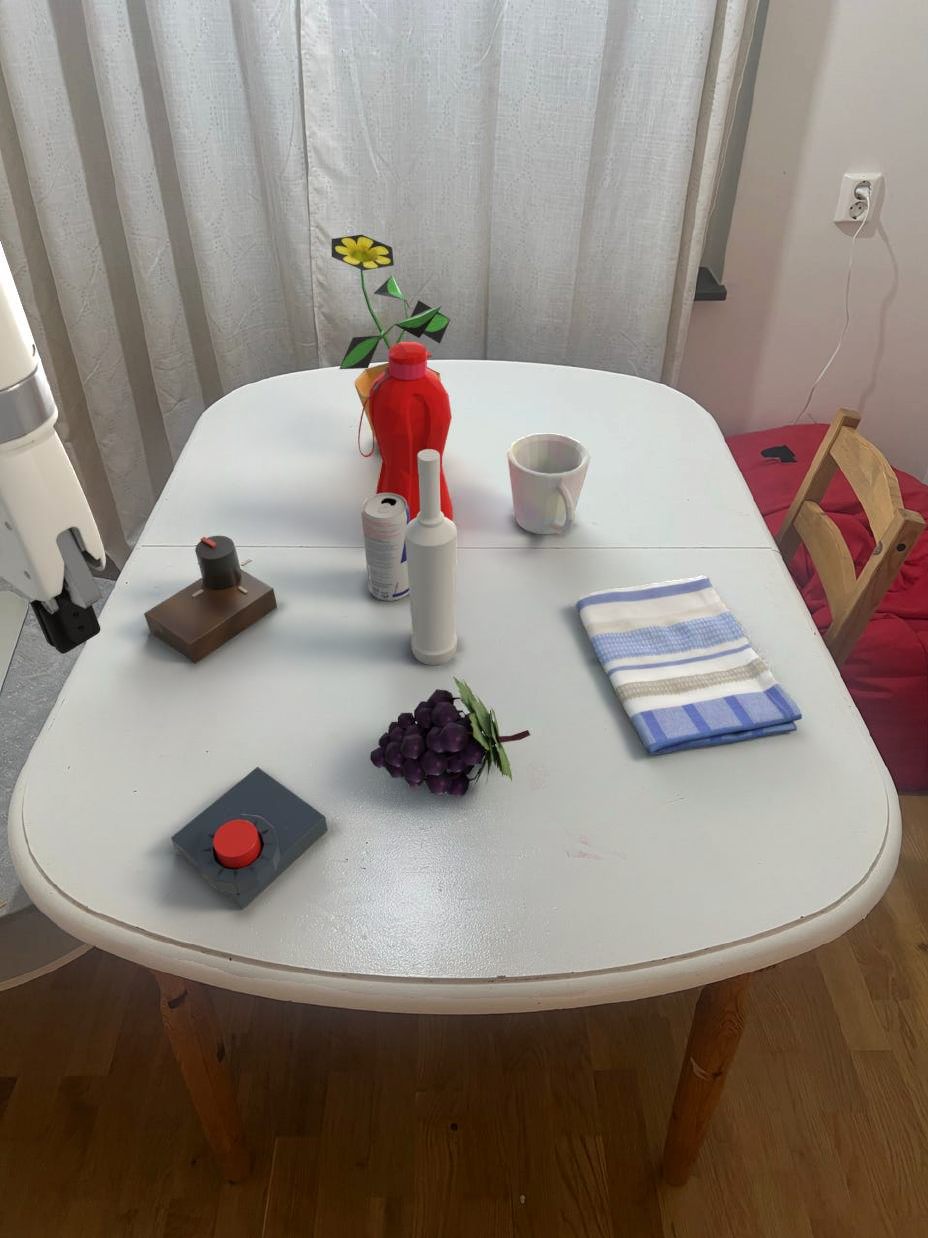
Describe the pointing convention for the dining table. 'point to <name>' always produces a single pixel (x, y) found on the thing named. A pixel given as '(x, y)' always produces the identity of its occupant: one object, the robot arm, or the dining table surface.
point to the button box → (279, 826)
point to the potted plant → (362, 349)
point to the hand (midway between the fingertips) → (75, 638)
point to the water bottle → (408, 423)
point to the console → (209, 615)
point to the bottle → (431, 569)
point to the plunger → (237, 843)
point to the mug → (547, 481)
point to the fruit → (443, 743)
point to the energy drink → (386, 545)
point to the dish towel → (683, 666)
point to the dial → (218, 562)
